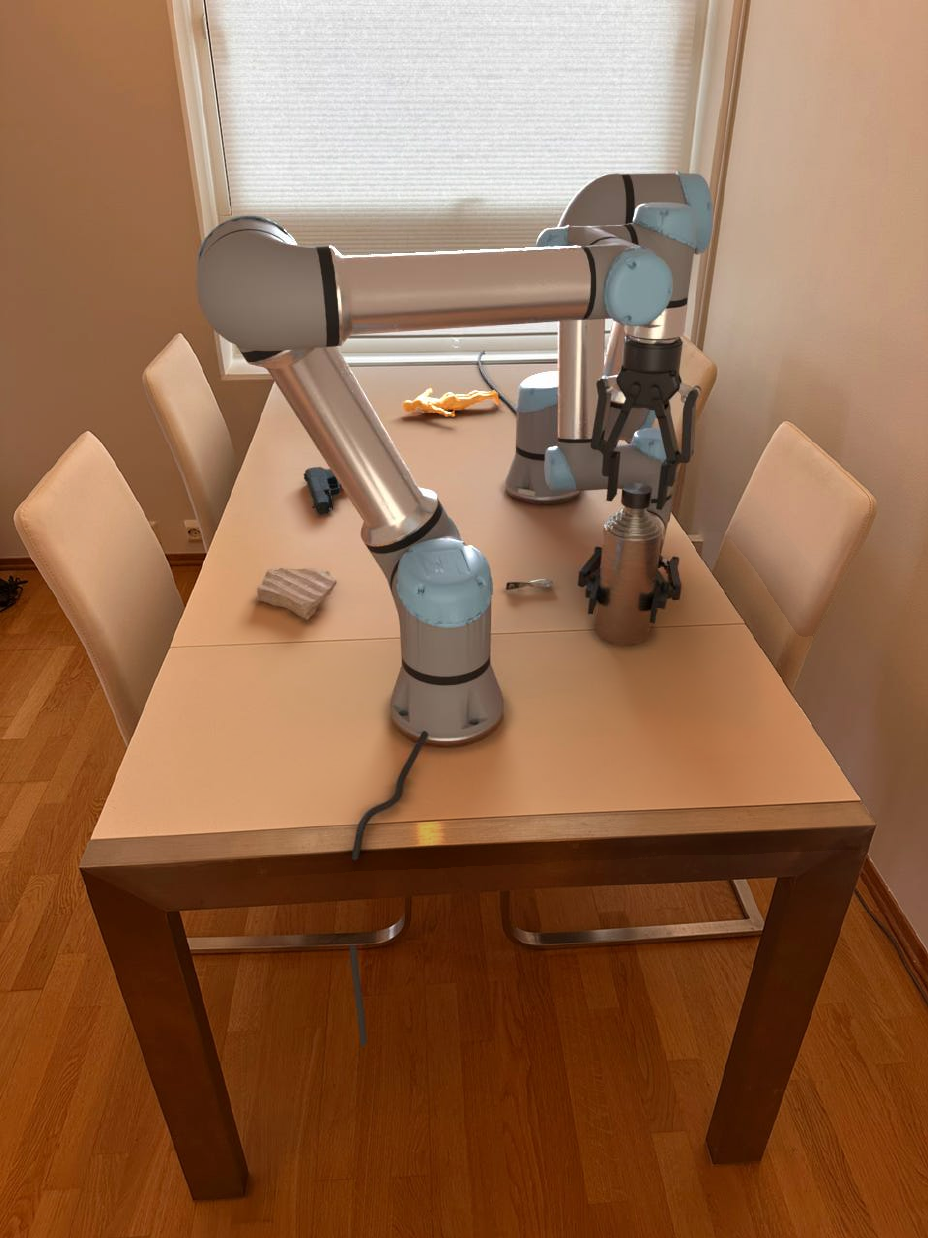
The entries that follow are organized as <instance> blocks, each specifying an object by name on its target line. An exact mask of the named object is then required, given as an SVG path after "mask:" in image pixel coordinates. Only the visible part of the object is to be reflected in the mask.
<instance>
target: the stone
mask: <svg viewBox="0 0 928 1238" xmlns="http://www.w3.org/2000/svg"><path fill="white" fill-rule="evenodd" d="M336 584H337V580H336V579H335V578H334V577H333V576H332V575H331V571H323V570H320V569H317V568H313V567H312V568H310V567H308V568H306V567H304V568H299V569H297V568H292V567H279V568H278V569H277V568H276V569H272V568H270V569H268V570H267V571H265V575H264V577H263V580H262V582H261V585H260V586H259V587H257V588H256V593H257V594H256V600H257V601H261V602H262V603H267V604H269V605H272V606H274V607H281V608H285V609H287V610H289V611H291V612H293V614H295V615H297V616H298V617H300V618H302V619H303V620H308V621H309V619H310V618H311V617H312V616H313V615H314V614H316V612H317V608H318V607H319V604H321V602H323V600H324V599H325V598H327V597H328V596H329V595H330V594H331V592H332V591H333V590H334V588H335V586H336Z"/></svg>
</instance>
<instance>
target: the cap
mask: <svg viewBox="0 0 928 1238" xmlns="http://www.w3.org/2000/svg"><path fill="white" fill-rule="evenodd" d="M651 497H652V487H651V486H649V485H647V484H644V483H628V484H625V485H624V486H623V487H622V489H621V498H620V499H621V500H620V504H621V505H622V506H624V508H625V507H628V508H631V509H644V508H647V507H649V506H650V505H651Z"/></svg>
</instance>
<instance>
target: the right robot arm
mask: <svg viewBox="0 0 928 1238" xmlns="http://www.w3.org/2000/svg"><path fill="white" fill-rule="evenodd" d="M659 202H660V203H679V204H685V205H688V206H691V207H692V208H693V209H694V210H695V211H696V214H697V231H696V249H695V250H694V255H697V256H699V255H700V254H704V253H705V252H707V250H708V248H709V247H710V243H711V240H712V235H713V226H714V225H713V224H714V209H713V199H712V194H711V189H710V186H709V184H708V181H707V180H706V179H705V178H704V176H702V175H701V174H699V173H692V172H691V173H689V172H688V173H687V172H680V171H675V173H673V172H672V173H606V174H603V175H600V176H598V177H595V178H593V179H592V180H590V181H589V182H588V183H586V184H585V185H584V186H583V187H582V188H580V190H578V192H576V194H575V195H574V196H573V197H572V199H571V200H570V202H569V203H568V204H567V206H566V208H565V210H564V212H563V214H562V216H561V217H560V220H559V222H558V224H557V227H556V228H559V227H565V226H566V225H569V227H570V226H607V225H624V224H628V223H633V222H632V221H633V218H634V214H635V210H636V208H637V207H638V206H639V205H641V204H649V203H659ZM611 322H612V323H611V327H610V332H609V336H608V341H607V346H606V347H605V345H606V343H605V342H606V341H605V338H606V319H596V320H573V321H558V322H557V370H555V371H545V372H540V373H537V374H534V375H531V376H529V377H527V378H525V379H524V380H523V381H522V382H521V383H520V385H518V389H517V395H516V403H515V405H514V404H513V403H512V402H511V401H510V400H509V399H508V397H506V396H505V395H504V394H503V393H502V392H501V391H500V389H498V388H497V386H495V385H494V384H493V382H492V381H491V380H490V378H489V377H488V376H487V374H486V373H485V370H484V367H483V364H482V357H483V355H486V351H485V350H484V349H482V350H481V351H480V352H479V354H478V357H477V365H478V368H479V370H480V373H481V375H482V377H483V378H484V379H485V381H486V382H487V384H488V385H489V386H490V387H491V389H492V390H495V392H497V393H498V397H500V398H501V399H502V400H503V401H504V402H505V403H506V404H507V405H508V406H509V407H510V408H511V409H512V410H513V411H514V413H515V414H516V419H515V421H516V423H515V427H516V428H515V453H514V456H513V458H512V461H511V464H510V467H509V470H508V473H507V475H506V479H505V492H506V493H507V494H508V496H510V497H511V498H513V499H516V500H517V501H519V502H523V503H527V504H533V505H557V504H558V505H559V504H563V503H566V502H569V501H571V500H574V499H576V498H577V497H578V496H579V494H580V492H583V491H584V492H585V491H601V490H607V488H608V477H607V476H603V474H602V465H603V454H602V452H600V451H599V450H597V449H596V450H594V449H592V448H591V439H592V433H593V427H594V421H595V415H596V409H597V403H598V391H597V386H596V383H597V381H598V380H599V379H600V378H601V377H602V376H603V375H608V376H609V377H610V376H616V375H618V373H619V372H620V369H621V363H622V351H623V340H624V338H625V337H626V336H627V335H628V334H627V333H626V332H625V324H621V323H617V322H615V321H614V320H613V319H612V321H611ZM605 348H606V349H605ZM625 400H626V398H625V396H624V395H623V393H622V391H621V389H620V388H619V386H618V384H617V385H616V386H615V390H614V391H613V392H612V396H611V402H610V408H609V414H608V419H607V425H606V431H605V437H604V440H606V441H607V440H608V438H609V436H610V434H611V431H612V429H613V427H614V425H615V423H616V420H617V418H618V416H619V414H620V412H621V408H622V406H623V404H624V402H625ZM656 419H657V418H656V415H655V411H654V410H649V409H646V408H634V409H633V411H632V414H631V416H630V418H629V420H628V422H627V424H626V426H625V429H624V431H623V433H622V435H621V437H620V439H619V441H630V440H631V442H630V443H618V444H617V447H616V448H615V451H620V452H621V453H620V464H619V475H618V485H617V490H622V487H623V486H624V485H625V484H628V483H644V484H647V485H649V486H651V487H652V497H651V505H650V506H649V507H647V508H646V510H647V511H648V512H649V513H650V514H651V515H652V516H653V517H655V518H656V519H657V520H658V521H659V522H660V524H661V526H662V529H663V531H662V539H661V547H660V555H659V563H658V571H657V579H656V587H655V593H654V597H653V602H652V606H651V614H650V622H649V623H651V624H655V623H656V618H657V614H658V609H661V610H665V609H666V608H667V604H668V600H669V599H671V600H672V601H677V602H678V601H680V599H681V594H682V586H683V585H682V580H681V577H680V572H679V564H680V557H679V556H674V555H673V556H672V557H671V558H670V559H669V558H664V556H663V555H662V552H663V547H664V543H665V538H666V536H667V535H666V533H667V529H668V525H669V523H670V520H671V514H672V506H671V504H672V497H673V495H672V494H673V493H672V492H673V487H674V485H673V486H672V487H670V486H668V489H667V497H666V503H665V505H664V506H663V508H662V510H658V509H656V505H657V497H658V488H659V480H660V472H661V465H662V463H663V462H664V460H665V459H666V454H665V450H664V445H663V441H662V436H661V432H660V427H659V428H657V427H653V426H654V423H655V421H656ZM676 439H677V440H678V438H677V437H676ZM601 557H602V547H601V546H594V550H593V554H591V556H590V557H589V559H588V560H587V561H586V562H585V563H584V564H583V566H582V567H581V568H580V569H579V570H578V575H577V587H579V588H585V591H584V597H585V599H588V607H587V608H588V609H587V614H588V615H594V613H595V610H596V608H597V603H598V591H599V580H600V568H601ZM661 567H662V568H663V570H664V571H665V574H666V575H667V580H666V578H665V577H664V575H663V574H662V572H661V571H660V568H661Z"/></svg>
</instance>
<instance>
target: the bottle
mask: <svg viewBox="0 0 928 1238" xmlns="http://www.w3.org/2000/svg"><path fill="white" fill-rule="evenodd" d="M662 531H663V529H662V526H661V524H660V522H659V521H658V520H657V519H656V518H655V517H653V516H652V515H651V514H650V513H649V512H648V511H647V510H646V508H644V509H631V508H628V507H625V506H624V508H623V509H621V510H619V511H617V512H615V513H614V514H613V515H610V516H609V517H608V518H607V520H606V521H605V522H604V524H603V535H602V547H601V548H602V557H601V566H600V580H599V591H598V600H597V604H596V615H595V627H594V631H595V634H596V635H597V637H598V638H599V639H601V641H604V642H606V643H608V644H611V645H613V646H618V647H619V646H620V647H632V646H636V645H640V644H642V643H644V642H646V641H647V640H648V639H649V637H650V633H651V626H652V623H649V622H650V614H651V606H652V602H653V597H654V593H655V587H656V579H657V571H658V570H659V569H658V563H659V555H660V547H661V539H662Z"/></svg>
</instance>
